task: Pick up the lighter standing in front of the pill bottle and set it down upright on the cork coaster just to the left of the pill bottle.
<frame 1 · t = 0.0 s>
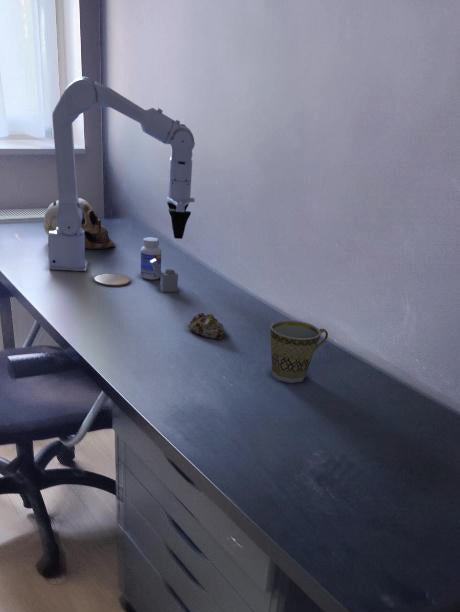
hand: (177, 234, 189), 10 cm above the table, tool pointing down, fingers open, 7 cm apart
ceramic cup: (294, 376, 146), on the table
coaster: (112, 280, 184), on the table
brown skull: (80, 244, 210), on the table
pill bottle: (150, 277, 190), on the table
lighter: (163, 291, 182), on the table
mineral rock: (207, 332, 161), on the table
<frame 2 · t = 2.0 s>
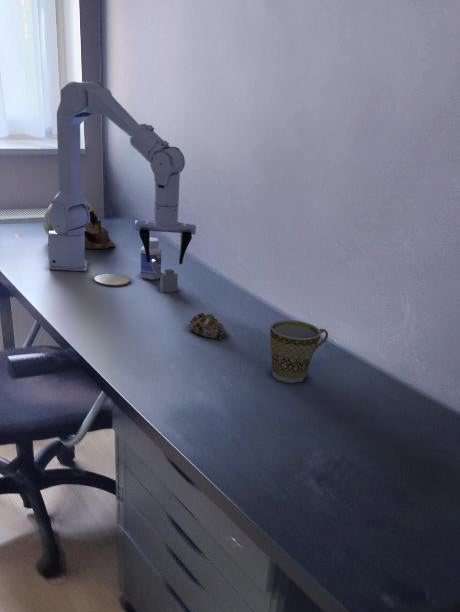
hand: (164, 262, 177), 7 cm above the table, tool pointing down, fingers open, 7 cm apart
lighter: (163, 291, 182), on the table, touching gripper
everything else where it was.
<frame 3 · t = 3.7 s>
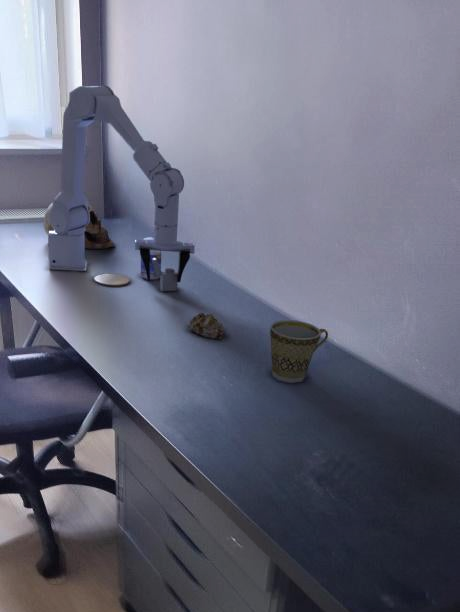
hand: (163, 280, 180), 3 cm above the table, tool pointing down, fingers closed on lighter, 7 cm apart
lighter: (163, 290, 182), on the table, touching gripper
everything else where it was.
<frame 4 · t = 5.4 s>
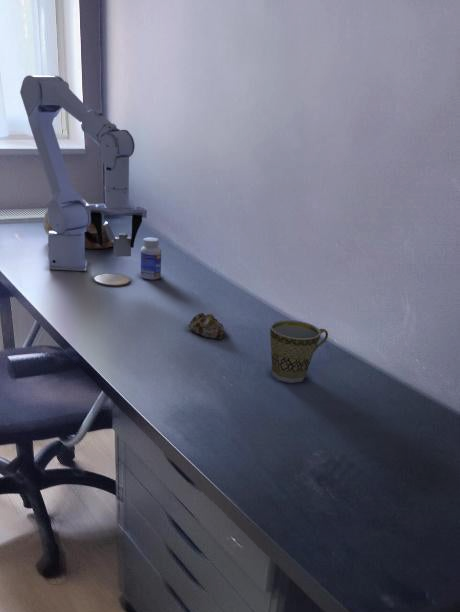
hand: (116, 245, 178), 9 cm above the table, tool pointing down, fingers closed on lighter, 7 cm apart
lighter: (116, 256, 180), point 7 cm above the table, touching gripper
everything else where it was.
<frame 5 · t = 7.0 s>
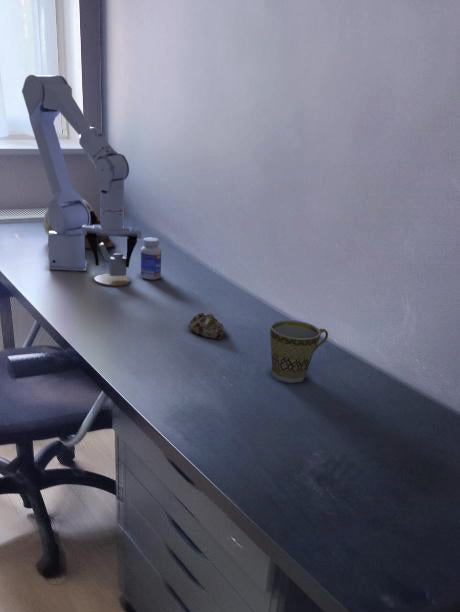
hand: (112, 265, 182), 4 cm above the table, tool pointing down, fingers closed on lighter, 7 cm apart
lighter: (112, 275, 184), point 1 cm above the table, touching gripper
everything else where it was.
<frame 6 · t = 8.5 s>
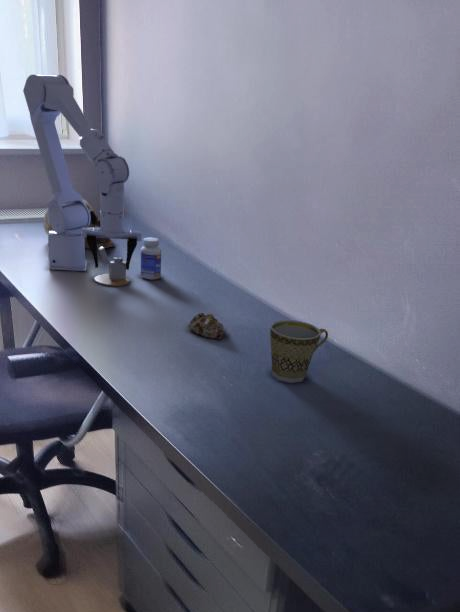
hand: (112, 267, 183), 3 cm above the table, tool pointing down, fingers closed on lighter, 7 cm apart
lighter: (111, 279, 184), resting on coaster, touching gripper
everything else where it was.
when the fingers open (4 cm above the table, at t = 8.6 s): lighter stays where it is, resting on coaster.
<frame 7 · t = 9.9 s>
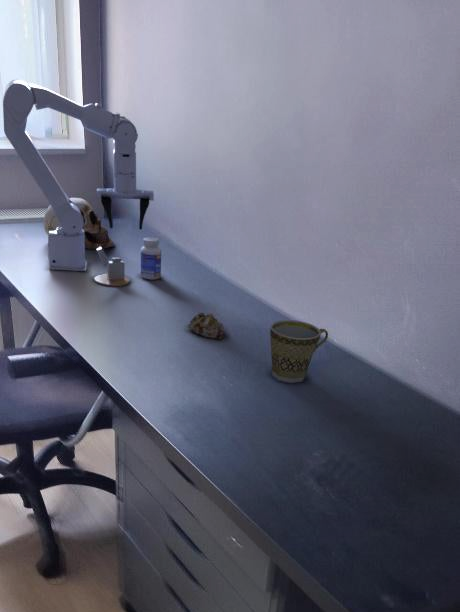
hand: (126, 227, 189), 10 cm above the table, tool pointing down, fingers open, 7 cm apart
lighter: (110, 279, 184), resting on coaster
everything else where it was.
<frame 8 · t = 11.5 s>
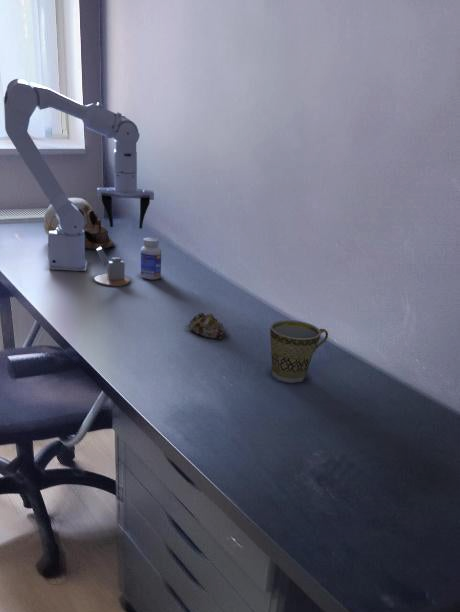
hand: (126, 226, 190), 10 cm above the table, tool pointing down, fingers open, 7 cm apart
nothing on the table moved.
at the end: lighter inside the target area on the table beside the pill bottle (3.0 cm from its centre), resting on coaster; lighter 0.5 cm from the coaster (horizontally); pill bottle moved 0.2 cm from its start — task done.
